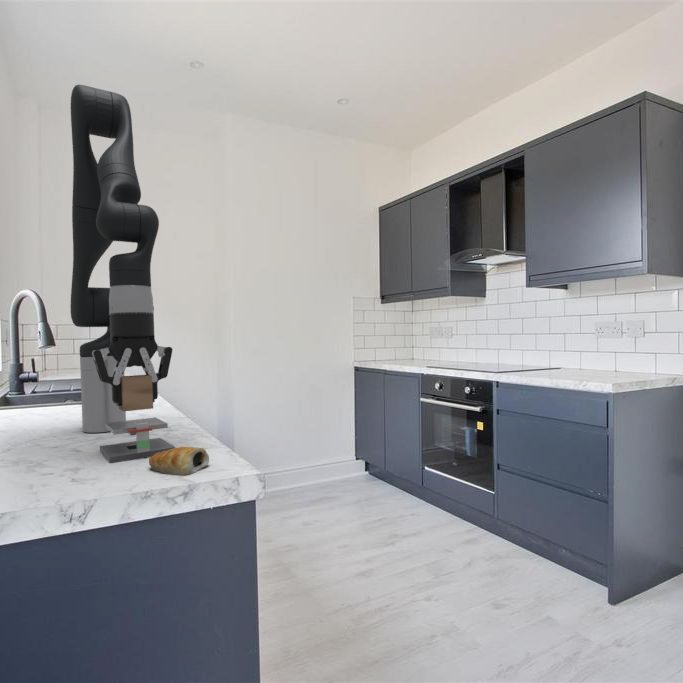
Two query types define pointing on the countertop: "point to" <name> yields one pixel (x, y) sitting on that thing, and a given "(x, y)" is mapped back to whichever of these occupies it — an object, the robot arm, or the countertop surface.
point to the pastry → (180, 460)
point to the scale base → (135, 447)
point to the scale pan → (131, 426)
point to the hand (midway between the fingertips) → (135, 403)
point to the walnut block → (136, 392)
